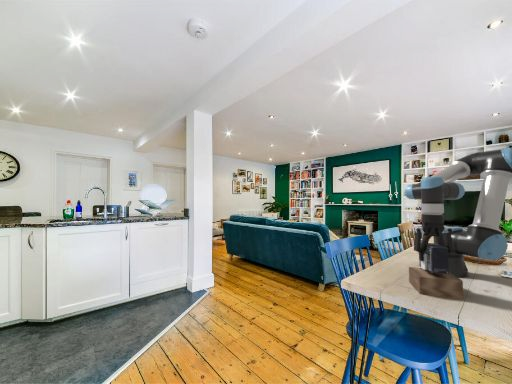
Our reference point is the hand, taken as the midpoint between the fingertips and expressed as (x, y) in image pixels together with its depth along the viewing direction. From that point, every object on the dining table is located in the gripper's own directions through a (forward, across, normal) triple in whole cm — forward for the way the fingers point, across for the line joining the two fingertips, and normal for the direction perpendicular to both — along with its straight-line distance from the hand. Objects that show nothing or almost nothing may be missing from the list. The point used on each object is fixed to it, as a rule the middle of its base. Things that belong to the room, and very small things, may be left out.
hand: (433, 269), depth 97 cm
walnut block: (+9, 0, 0) cm, 9 cm away
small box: (+1, 0, 0) cm, 1 cm away
